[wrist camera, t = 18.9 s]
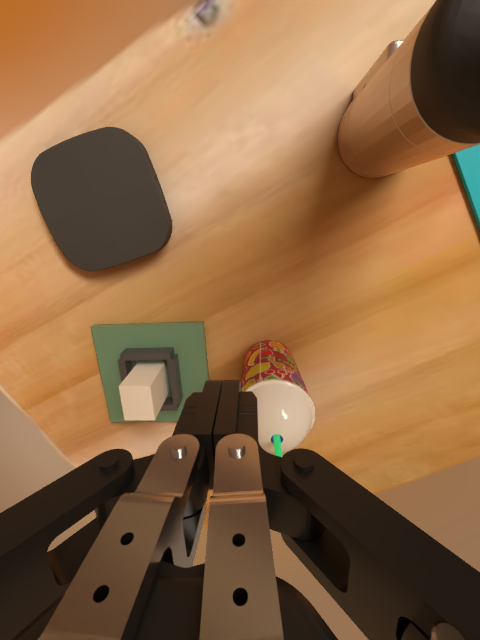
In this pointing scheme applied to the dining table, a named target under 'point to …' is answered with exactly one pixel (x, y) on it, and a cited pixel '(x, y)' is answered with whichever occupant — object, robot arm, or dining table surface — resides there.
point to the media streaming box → (101, 199)
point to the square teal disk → (470, 176)
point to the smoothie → (278, 397)
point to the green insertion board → (152, 345)
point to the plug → (144, 390)
